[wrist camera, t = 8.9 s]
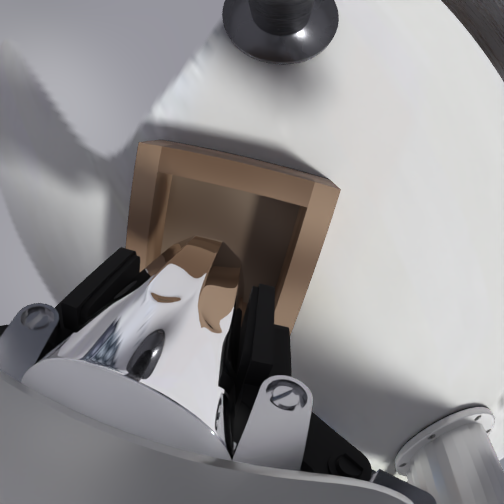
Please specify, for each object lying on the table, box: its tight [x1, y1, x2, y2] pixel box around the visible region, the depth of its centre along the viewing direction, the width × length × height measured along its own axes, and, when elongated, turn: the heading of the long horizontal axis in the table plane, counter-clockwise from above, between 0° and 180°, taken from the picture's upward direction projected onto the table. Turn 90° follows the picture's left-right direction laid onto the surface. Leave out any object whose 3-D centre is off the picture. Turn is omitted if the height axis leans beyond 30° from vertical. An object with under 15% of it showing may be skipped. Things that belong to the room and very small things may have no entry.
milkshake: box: [21, 235, 244, 461], centre depth 8 cm, size 4×5×10 cm
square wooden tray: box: [126, 140, 341, 334], centre depth 16 cm, size 9×9×3 cm
